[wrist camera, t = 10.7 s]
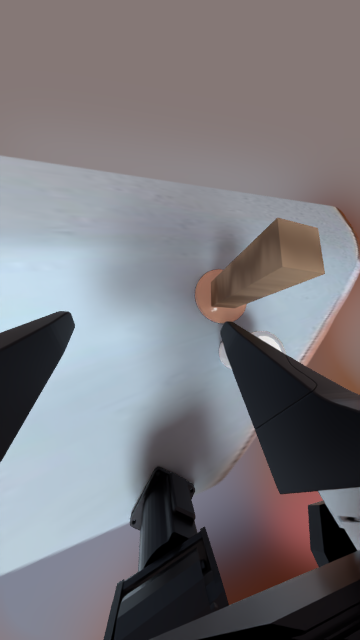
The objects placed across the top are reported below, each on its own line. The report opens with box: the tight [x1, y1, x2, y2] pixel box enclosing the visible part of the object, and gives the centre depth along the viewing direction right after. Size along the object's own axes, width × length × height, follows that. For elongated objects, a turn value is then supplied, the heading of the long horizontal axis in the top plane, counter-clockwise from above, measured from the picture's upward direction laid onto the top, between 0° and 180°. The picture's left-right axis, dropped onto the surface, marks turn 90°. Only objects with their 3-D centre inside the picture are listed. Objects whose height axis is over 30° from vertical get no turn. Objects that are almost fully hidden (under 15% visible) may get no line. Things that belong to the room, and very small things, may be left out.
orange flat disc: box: [195, 269, 247, 323], centre depth 24 cm, size 10×10×1 cm
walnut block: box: [211, 218, 325, 308], centre depth 18 cm, size 4×4×13 cm
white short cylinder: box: [219, 331, 286, 370], centre depth 20 cm, size 7×7×7 cm
